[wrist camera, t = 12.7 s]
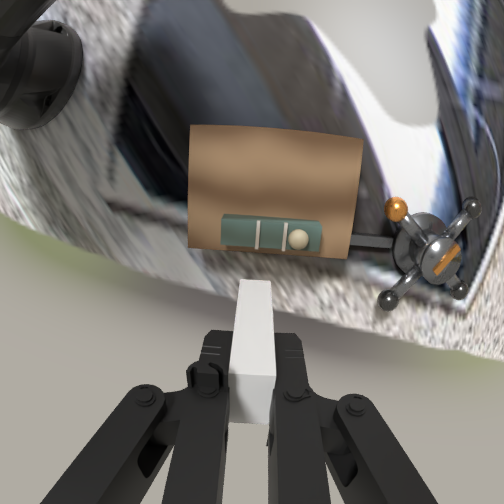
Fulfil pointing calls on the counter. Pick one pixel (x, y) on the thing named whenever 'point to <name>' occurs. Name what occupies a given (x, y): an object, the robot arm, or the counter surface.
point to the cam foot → (399, 239)
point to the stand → (272, 190)
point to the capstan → (429, 251)
